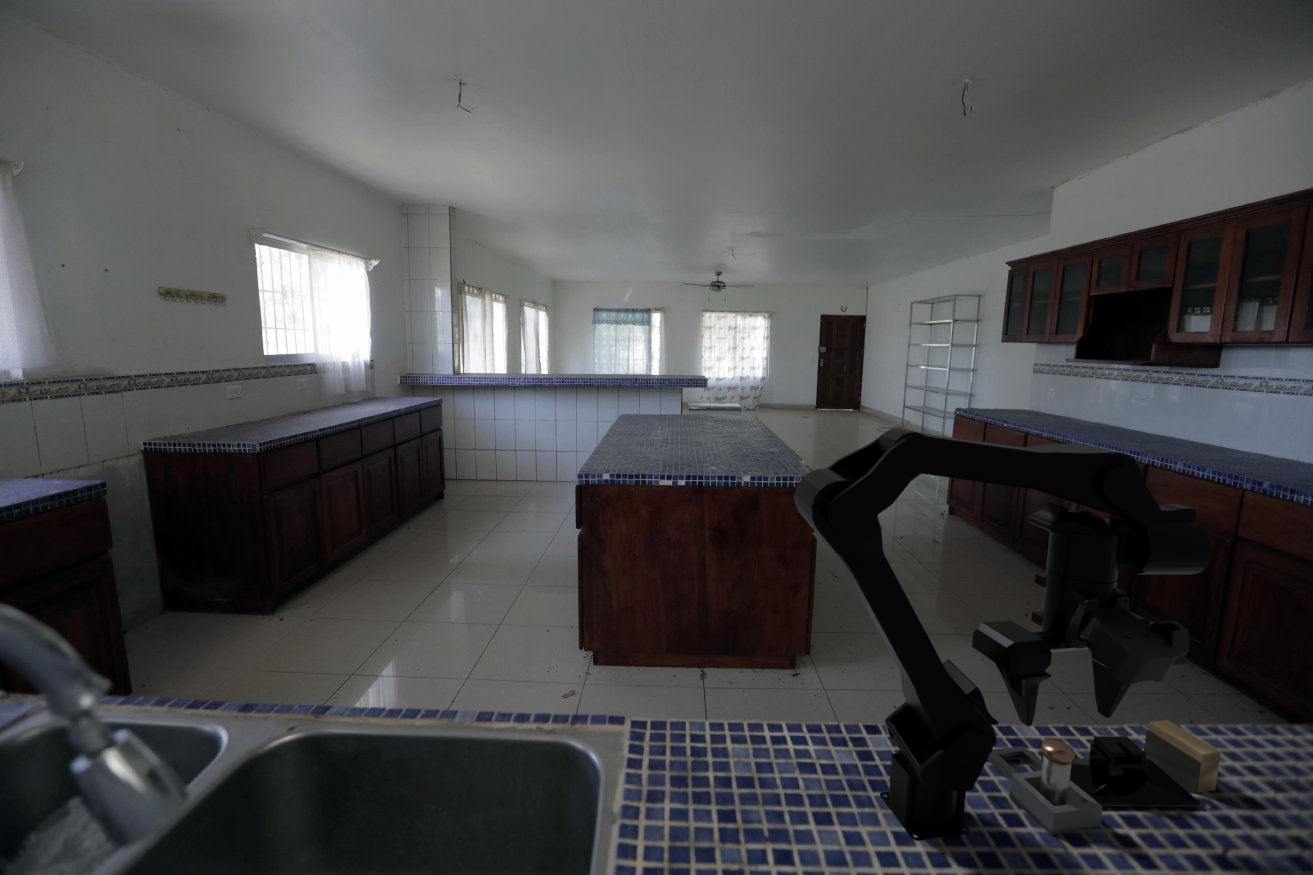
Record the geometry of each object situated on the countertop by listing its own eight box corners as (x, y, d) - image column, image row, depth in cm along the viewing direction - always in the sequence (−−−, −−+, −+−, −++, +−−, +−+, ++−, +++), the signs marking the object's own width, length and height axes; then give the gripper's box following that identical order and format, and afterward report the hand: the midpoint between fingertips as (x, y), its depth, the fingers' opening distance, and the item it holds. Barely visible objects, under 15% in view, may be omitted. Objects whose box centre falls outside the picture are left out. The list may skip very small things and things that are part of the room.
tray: (1051, 835, 59) (1054, 812, 58) (1009, 795, 64) (1011, 773, 64) (1099, 829, 60) (1102, 806, 59) (1054, 789, 65) (1056, 768, 65)
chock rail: (1194, 796, 64) (1200, 754, 64) (1142, 761, 70) (1147, 721, 70) (1214, 793, 65) (1220, 751, 64) (1161, 758, 71) (1167, 719, 70)
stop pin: (1052, 818, 60) (1058, 758, 59) (1030, 799, 63) (1035, 740, 62) (1075, 815, 61) (1082, 754, 60) (1052, 795, 64) (1058, 737, 63)
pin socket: (1017, 787, 65) (1018, 779, 65) (985, 757, 70) (986, 749, 70) (1056, 782, 66) (1057, 774, 66) (1022, 753, 71) (1023, 745, 71)
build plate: (1079, 806, 62) (1082, 766, 62) (1038, 760, 70) (1040, 723, 69) (1201, 806, 62) (1205, 765, 61) (1147, 759, 69) (1150, 722, 69)
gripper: (1067, 613, 49) (1049, 785, 51) (1251, 599, 52) (1228, 762, 54) (974, 567, 60) (962, 710, 62) (1131, 558, 63) (1115, 695, 65)
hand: (1065, 719), depth 61 cm, fingers open, 9 cm apart
